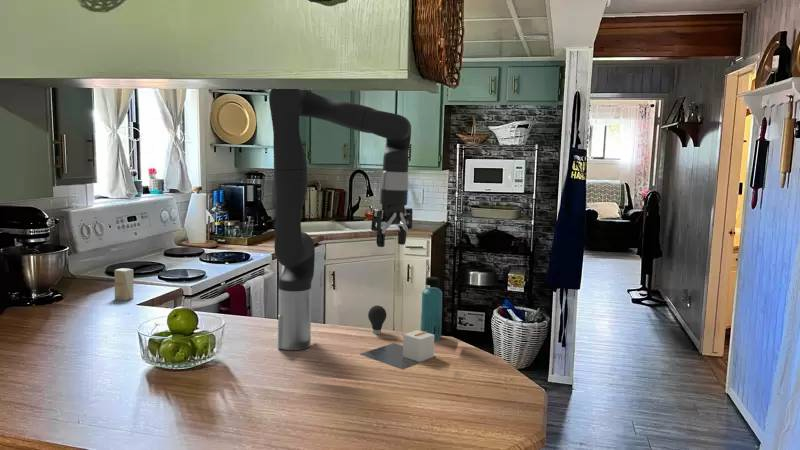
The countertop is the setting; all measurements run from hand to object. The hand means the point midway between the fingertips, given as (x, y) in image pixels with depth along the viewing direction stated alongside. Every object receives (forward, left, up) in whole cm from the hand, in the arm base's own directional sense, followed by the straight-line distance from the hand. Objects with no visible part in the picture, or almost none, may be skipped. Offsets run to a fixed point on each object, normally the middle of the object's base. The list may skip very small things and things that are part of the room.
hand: (391, 245), depth 168 cm
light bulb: (-2, +13, -31) cm, 34 cm away
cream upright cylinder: (-89, +66, -31) cm, 115 cm away
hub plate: (+1, -8, -31) cm, 32 cm away
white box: (+7, -9, -29) cm, 32 cm away
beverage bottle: (+14, +7, -31) cm, 35 cm away
